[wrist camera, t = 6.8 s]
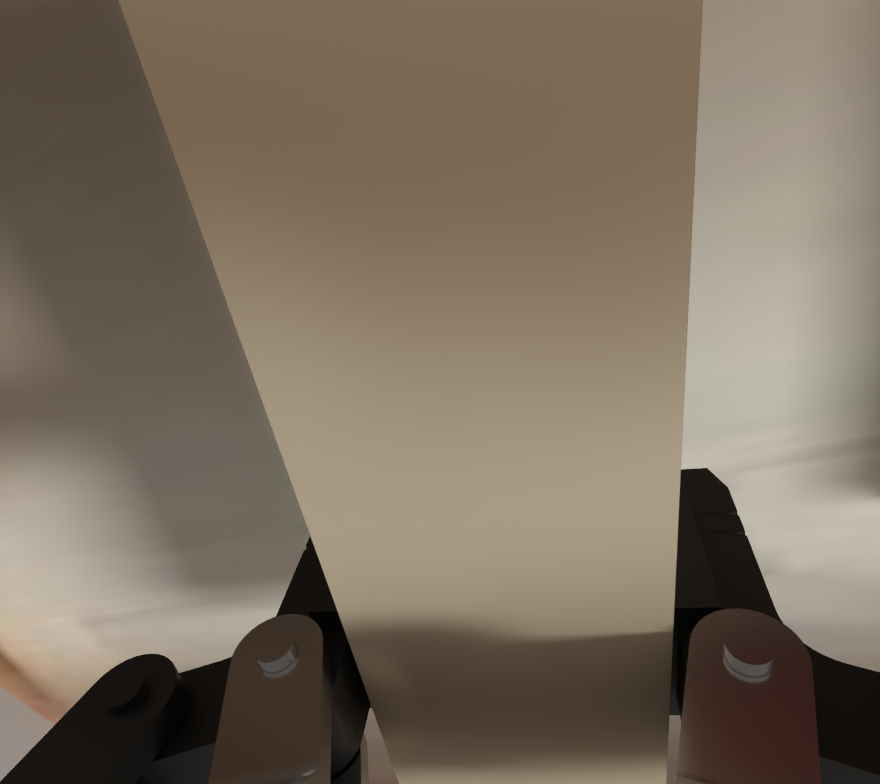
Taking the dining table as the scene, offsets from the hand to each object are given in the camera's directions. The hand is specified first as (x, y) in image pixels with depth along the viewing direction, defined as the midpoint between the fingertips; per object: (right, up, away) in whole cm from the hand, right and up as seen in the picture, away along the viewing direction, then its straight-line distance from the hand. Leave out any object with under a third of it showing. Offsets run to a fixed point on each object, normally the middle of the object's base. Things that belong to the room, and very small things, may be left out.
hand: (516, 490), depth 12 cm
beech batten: (0, +1, +1) cm, 1 cm away
